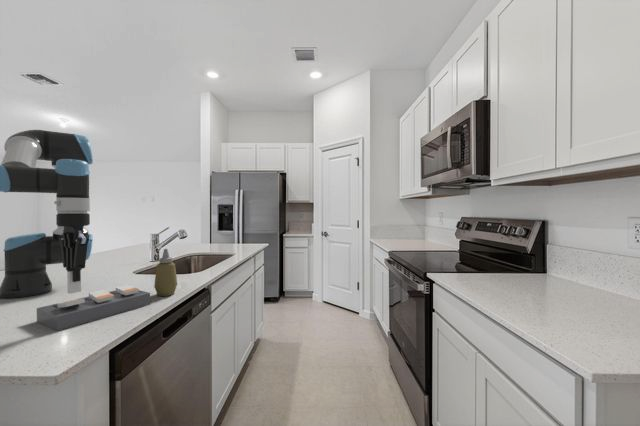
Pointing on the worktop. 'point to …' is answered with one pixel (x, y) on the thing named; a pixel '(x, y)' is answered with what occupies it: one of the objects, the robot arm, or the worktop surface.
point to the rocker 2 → (127, 290)
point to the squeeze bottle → (165, 276)
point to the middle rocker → (101, 296)
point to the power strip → (89, 310)
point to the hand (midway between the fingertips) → (74, 292)
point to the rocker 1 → (70, 303)
